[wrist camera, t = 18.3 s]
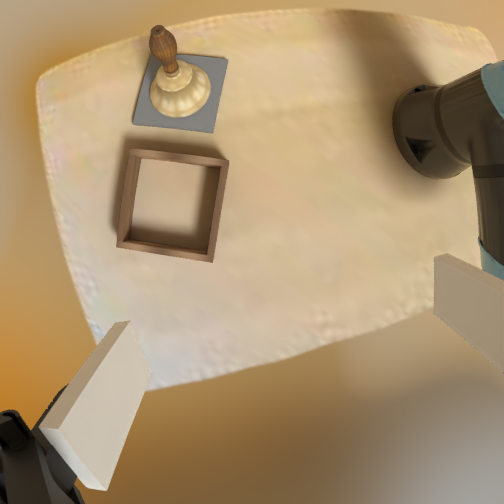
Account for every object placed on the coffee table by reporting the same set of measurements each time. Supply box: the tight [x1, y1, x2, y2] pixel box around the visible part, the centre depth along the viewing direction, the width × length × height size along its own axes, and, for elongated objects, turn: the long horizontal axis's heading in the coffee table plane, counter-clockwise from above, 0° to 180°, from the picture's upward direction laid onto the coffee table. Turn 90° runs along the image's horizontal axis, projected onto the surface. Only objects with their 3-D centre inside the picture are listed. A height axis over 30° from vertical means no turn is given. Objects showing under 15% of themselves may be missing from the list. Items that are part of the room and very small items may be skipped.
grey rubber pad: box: [133, 53, 228, 133], centre depth 37 cm, size 11×11×1 cm
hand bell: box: [149, 25, 211, 118], centre depth 29 cm, size 8×8×16 cm
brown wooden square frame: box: [116, 148, 229, 263], centre depth 38 cm, size 13×13×3 cm
